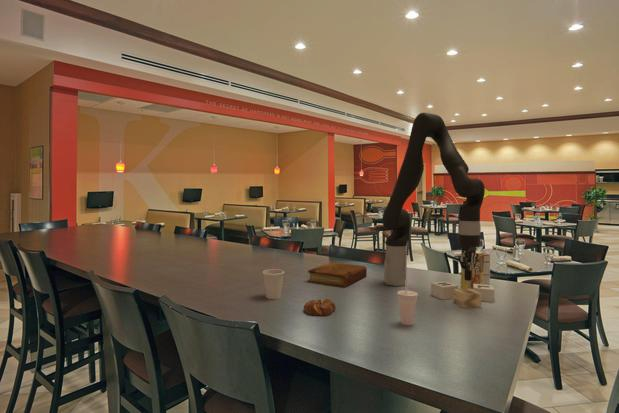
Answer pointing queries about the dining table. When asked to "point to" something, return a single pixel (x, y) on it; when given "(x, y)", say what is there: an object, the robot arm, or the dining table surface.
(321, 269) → the diary
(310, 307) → the brown braided bread bun
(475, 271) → the candy box
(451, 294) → the marked block
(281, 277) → the dixie cup
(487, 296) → the marked block
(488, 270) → the syrup box
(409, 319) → the smoothie
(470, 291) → the plain block
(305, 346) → the dining table surface
